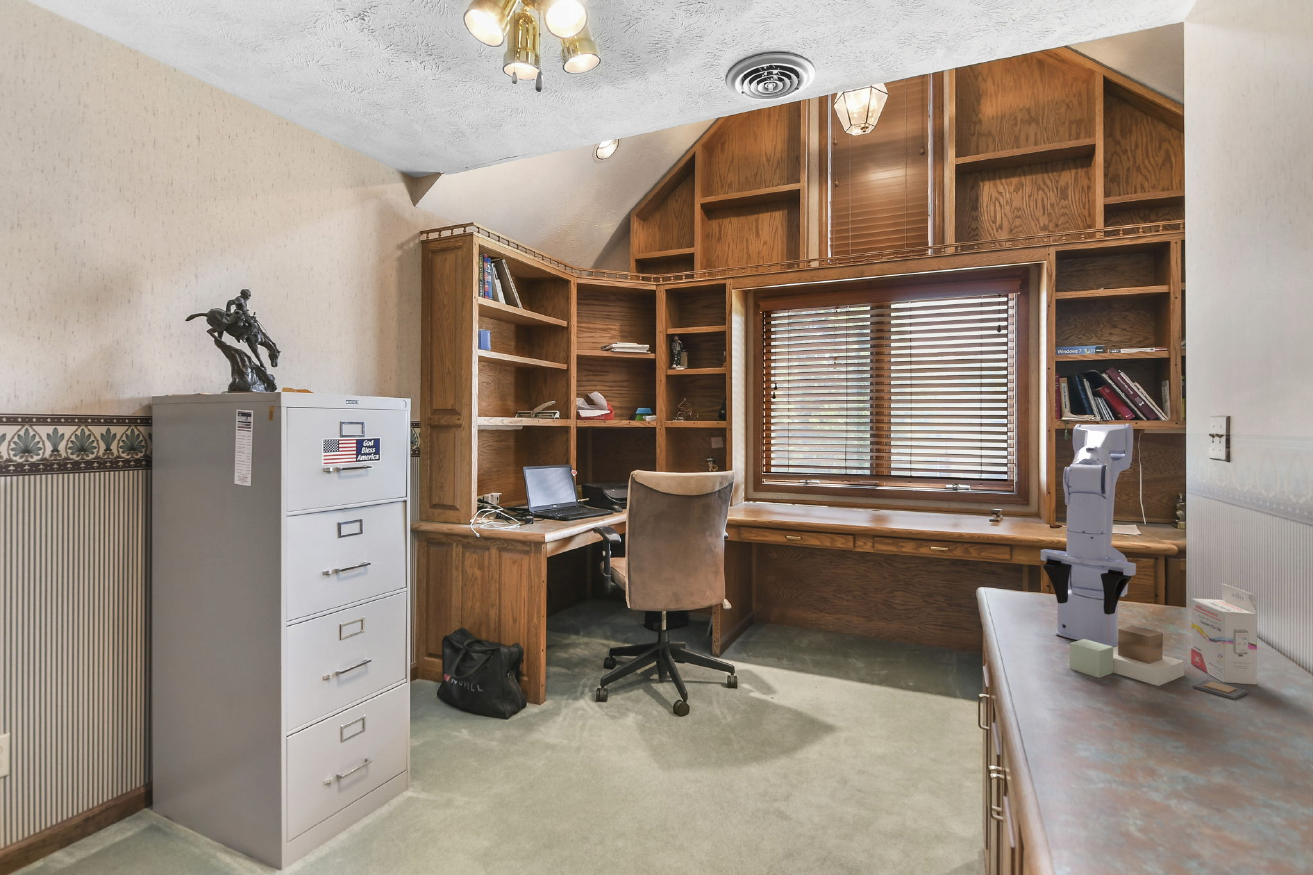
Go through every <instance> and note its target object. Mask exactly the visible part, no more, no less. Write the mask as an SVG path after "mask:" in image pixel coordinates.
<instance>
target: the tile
mask: <svg viewBox="0 0 1313 875" xmlns="http://www.w3.org/2000/svg"><path fill="white" fill-rule="evenodd" d="M1192 688H1193V689H1196V690H1199V691H1203V692H1206V693H1210V694H1213V695H1216V696H1220V697H1224V698H1227V699H1230V700H1232V701H1233V700H1234V701H1235V700H1236V699H1238V698H1241V697H1242V696H1245V695H1247V694H1248V693H1249V692H1248V690H1247V689H1244V688H1243V689H1242V688H1239V687H1235V686H1232V685H1228V684H1225V683H1223V682H1217V681H1213V680H1210V679H1204V680H1202V681H1200V682H1199V681H1198V682H1197V683H1195V684H1193V685H1192Z"/></svg>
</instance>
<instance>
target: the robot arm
mask: <svg viewBox="0 0 1313 875" xmlns="http://www.w3.org/2000/svg"><path fill="white" fill-rule="evenodd" d="M1072 447H1073V448H1072V449H1073V451H1074V458H1073V460H1072V463H1071V464H1070V465H1069V466H1065V467H1064V470H1063V476H1062V477H1063V478H1062V486H1063V492H1064V504H1065V505H1066V551H1064V550H1063V551H1062V550H1055V549H1048V548H1047V549H1046V548H1045V549H1040V560H1041V561H1044V562H1045V563H1043V565H1042V567H1043V569H1044V572H1045V573H1046V574H1047V576H1048V578H1049V579H1050V582H1051V586H1052V587H1053V588H1052V589H1053V590H1054V595H1055V597H1056V602H1057V630H1056V631H1055V635H1056V636H1060V637H1064V638H1068V639H1071V640H1075V641H1079V640H1082V639H1086V640H1090V641H1094V642H1097V643H1101V644H1105V645H1109V646H1112V647H1116V646H1118V629H1119V619H1120V618H1119V617H1120V616H1119V614H1120V613H1119V610H1120V609H1119V608H1120V607H1119V606H1120V603H1119V601H1120V598H1121V597H1125V596H1126V595H1127V594H1128V590H1129V589H1128V587H1129V582H1130V581H1131V579H1132V576H1136V574H1137V563H1134V562H1129V561H1128V558H1126V555H1125V554H1124V553H1122V552H1121V551H1120V550H1118V549H1116V548H1115V547H1114V546H1112V542H1113V540H1112V539H1113V529H1114V528H1113V526H1114V511H1115V510H1114V509H1115V495H1116V483H1117V480H1118V478H1119V475H1120V473H1121V472H1123V471H1125V470H1126V471H1127V469H1130V468H1131V463H1132V462H1133V461H1132V460H1133V450H1134V428H1133V425H1131V424H1130V423H1125V424H1081V423H1077V424H1076V425H1075V426H1073V431H1072Z"/></svg>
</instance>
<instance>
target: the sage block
mask: <svg viewBox="0 0 1313 875" xmlns="http://www.w3.org/2000/svg"><path fill="white" fill-rule="evenodd" d="M1070 669H1071V670H1073V671H1076V670H1077V672H1079V673H1083V674H1086V675H1089V676H1092V677H1095V678H1100V679H1101V678H1102V677H1106V676H1108V675H1111V674H1113V673H1114V672H1113V647H1112V646H1109V645H1105V644H1101V643H1097V642H1094V641H1090V640H1086V639H1082V640H1079V641H1078V640H1075V641H1072V642H1070V643H1069V670H1070Z"/></svg>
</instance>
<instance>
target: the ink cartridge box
mask: <svg viewBox="0 0 1313 875" xmlns="http://www.w3.org/2000/svg"><path fill="white" fill-rule="evenodd" d="M1220 592H1221V599H1211V598H1208V599H1207V598H1191V631H1190V632H1191V637H1190V638H1191V640H1190V641H1191V645H1190V646H1191V648H1190V664H1191V665H1192V666H1195V667H1196V668H1198V669H1200V670H1202V671H1203V672H1205V673H1206V674H1208V675H1210V676H1212V677H1214V678H1215V679H1217V680H1219V681H1221V683H1223V684H1225V683H1230V684H1242V685H1244V684H1245V685H1257V684H1258V677H1257V676H1258V614H1257V604H1256V603H1257V602H1256V599H1257V598H1256V595H1255V594H1254V593H1253V592H1248V591H1246V590H1243V589H1242V588H1241V589H1240V588H1237V587H1235V586H1232V585H1229V584H1225V583H1224V582H1223V583H1220ZM1233 594H1234V595H1237V594H1238V595H1239V597H1242V598H1243V599H1239V598H1237V597H1235V596H1233Z"/></svg>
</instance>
